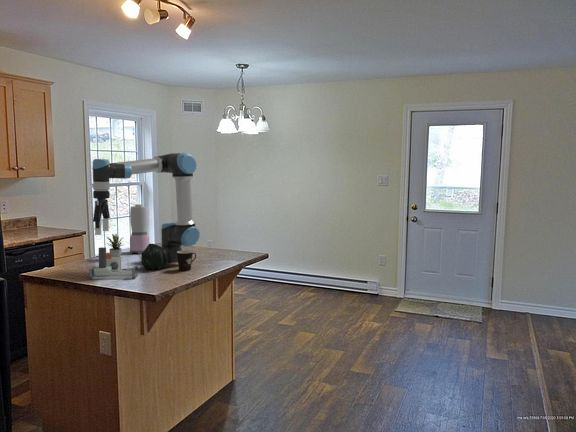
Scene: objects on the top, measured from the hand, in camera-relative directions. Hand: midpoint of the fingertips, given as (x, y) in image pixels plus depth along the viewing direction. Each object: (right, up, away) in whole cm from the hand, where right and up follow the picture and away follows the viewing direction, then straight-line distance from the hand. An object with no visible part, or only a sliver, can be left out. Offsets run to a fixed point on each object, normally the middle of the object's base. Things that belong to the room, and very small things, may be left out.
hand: (102, 233), depth 220 cm
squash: (+19, -21, +26) cm, 38 cm away
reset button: (-2, -15, +11) cm, 19 cm away
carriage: (0, -21, +2) cm, 21 cm away
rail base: (+5, -23, +3) cm, 23 cm away
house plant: (-14, -18, +50) cm, 55 cm away
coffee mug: (+37, -21, +24) cm, 49 cm away
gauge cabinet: (-1, -22, +12) cm, 25 cm away
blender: (-5, -16, +74) cm, 76 cm away
